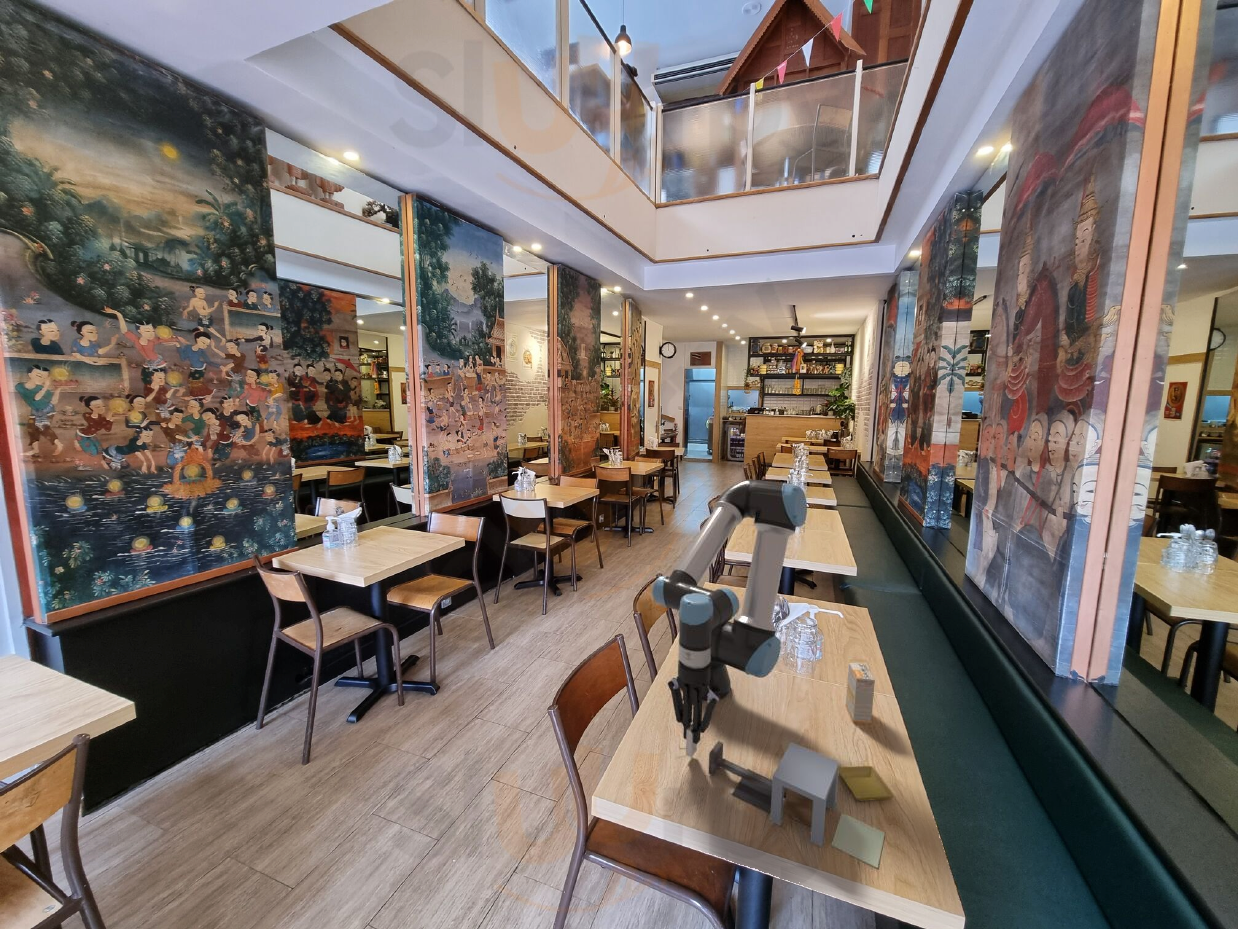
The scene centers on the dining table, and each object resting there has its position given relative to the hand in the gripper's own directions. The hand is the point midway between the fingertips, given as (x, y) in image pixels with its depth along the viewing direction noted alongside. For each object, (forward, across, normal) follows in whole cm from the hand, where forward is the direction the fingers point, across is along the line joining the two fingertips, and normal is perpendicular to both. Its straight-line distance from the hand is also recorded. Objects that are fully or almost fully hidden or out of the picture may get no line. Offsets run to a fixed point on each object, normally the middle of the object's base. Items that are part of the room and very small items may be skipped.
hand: (691, 752), depth 117 cm
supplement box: (+2, +29, +42) cm, 51 cm away
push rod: (+1, +18, 0) cm, 18 cm away
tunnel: (+1, +26, 0) cm, 26 cm away
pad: (+1, +37, 0) cm, 37 cm away
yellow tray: (+2, +35, +15) cm, 38 cm away
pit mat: (+1, +16, 0) cm, 16 cm away
